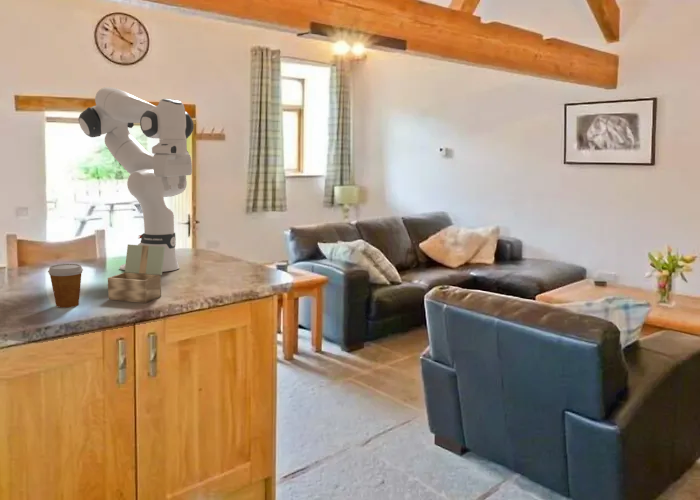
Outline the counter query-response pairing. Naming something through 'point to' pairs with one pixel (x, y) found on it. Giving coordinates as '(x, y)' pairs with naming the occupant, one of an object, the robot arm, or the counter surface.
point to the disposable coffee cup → (66, 284)
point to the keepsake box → (134, 287)
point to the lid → (144, 259)
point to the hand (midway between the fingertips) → (174, 189)
